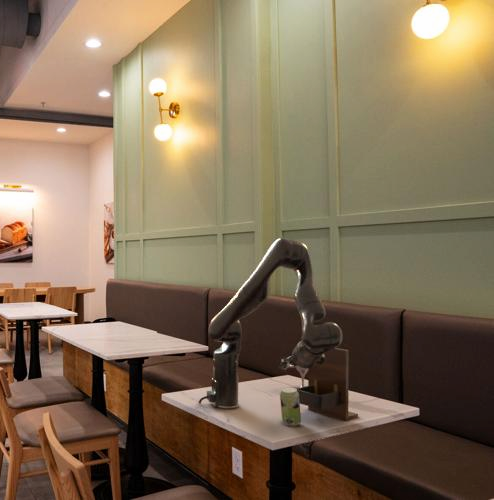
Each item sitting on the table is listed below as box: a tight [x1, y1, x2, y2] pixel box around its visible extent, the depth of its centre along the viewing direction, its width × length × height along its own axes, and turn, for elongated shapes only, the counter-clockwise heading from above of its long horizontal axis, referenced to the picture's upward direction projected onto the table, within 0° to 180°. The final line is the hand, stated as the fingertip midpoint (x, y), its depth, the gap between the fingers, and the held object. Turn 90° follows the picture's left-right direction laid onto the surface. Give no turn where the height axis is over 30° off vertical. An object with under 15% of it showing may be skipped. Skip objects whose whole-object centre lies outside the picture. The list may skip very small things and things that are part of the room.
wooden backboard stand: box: [294, 347, 359, 422], centre depth 180 cm, size 19×15×24 cm
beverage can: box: [279, 386, 302, 427], centre depth 171 cm, size 6×7×12 cm
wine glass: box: [294, 366, 308, 388], centre depth 218 cm, size 8×8×15 cm
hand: (296, 366), depth 172 cm, fingers open, 8 cm apart
